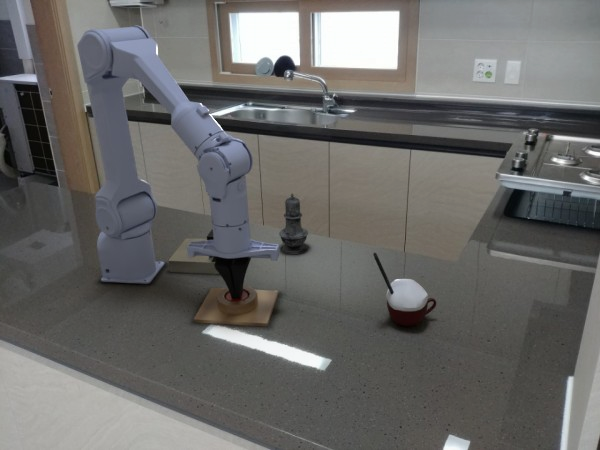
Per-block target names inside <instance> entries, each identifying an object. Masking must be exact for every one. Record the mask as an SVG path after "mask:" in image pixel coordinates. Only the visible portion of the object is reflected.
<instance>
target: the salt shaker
mask: <svg viewBox="0 0 600 450" xmlns="http://www.w3.org/2000/svg"><path fill="white" fill-rule="evenodd" d="M284 205H285V207H284V208H285V213H284V214H283V217H284V219H285V227H284V228H282V229H280V230H279V232H278V235H279V236H280V239H281V241H282V243H283V245H282V246H281V249H280V250H281V252H282V253H284V254H287V255H300V254H304V253H305V252H307V250H308V246H307V245H306V244H305V243H306V241H307V237H308V235H309V230H308V229H307V228H304V227H303V226H302V220H301V219H302V216H303V214H302V212H301V200H299V198H298V197H295V194H294V193H291V194H290V196H289V197H287V198H286V199H285V201H284Z"/></svg>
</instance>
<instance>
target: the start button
mask: <svg viewBox="0 0 600 450" xmlns="http://www.w3.org/2000/svg"><path fill="white" fill-rule="evenodd" d="M247 298H248V294H247V292H245V291H243V293H242V295H241V297H240V299H232V298H231V295H230V292H229V293H228V294H227V295H226V300H228V301H230V302H239V301H243V300H245V299H247Z"/></svg>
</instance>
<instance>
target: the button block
mask: <svg viewBox="0 0 600 450" xmlns="http://www.w3.org/2000/svg"><path fill="white" fill-rule="evenodd" d="M243 291H245V292H247V294H248V298H247V299H245V300H243V301H239V302H230V301H228V300H226V295H227V294H228V293H229V289H228V287H227V286H226V287H225V288H224V287H211V288H210V290H209V291H208V293H207V295H206V296H205V299H204V300H203V301H202V304H201V305H200V307H199V309H198V310H197V312H196V314H195V315H194V317H193V323H194V324H195V323H196V324H209V325H232V326H247V327H265V328H268V327H269V324H270V321H271V317H272V315H273V312H274V309H275V306H276V303H277V300H278V297H279V295H280V294H279V292H280V291H279V290H268V289H255V288H254V287H251V286H250V285H247V284H245V285H244V284H243Z"/></svg>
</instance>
